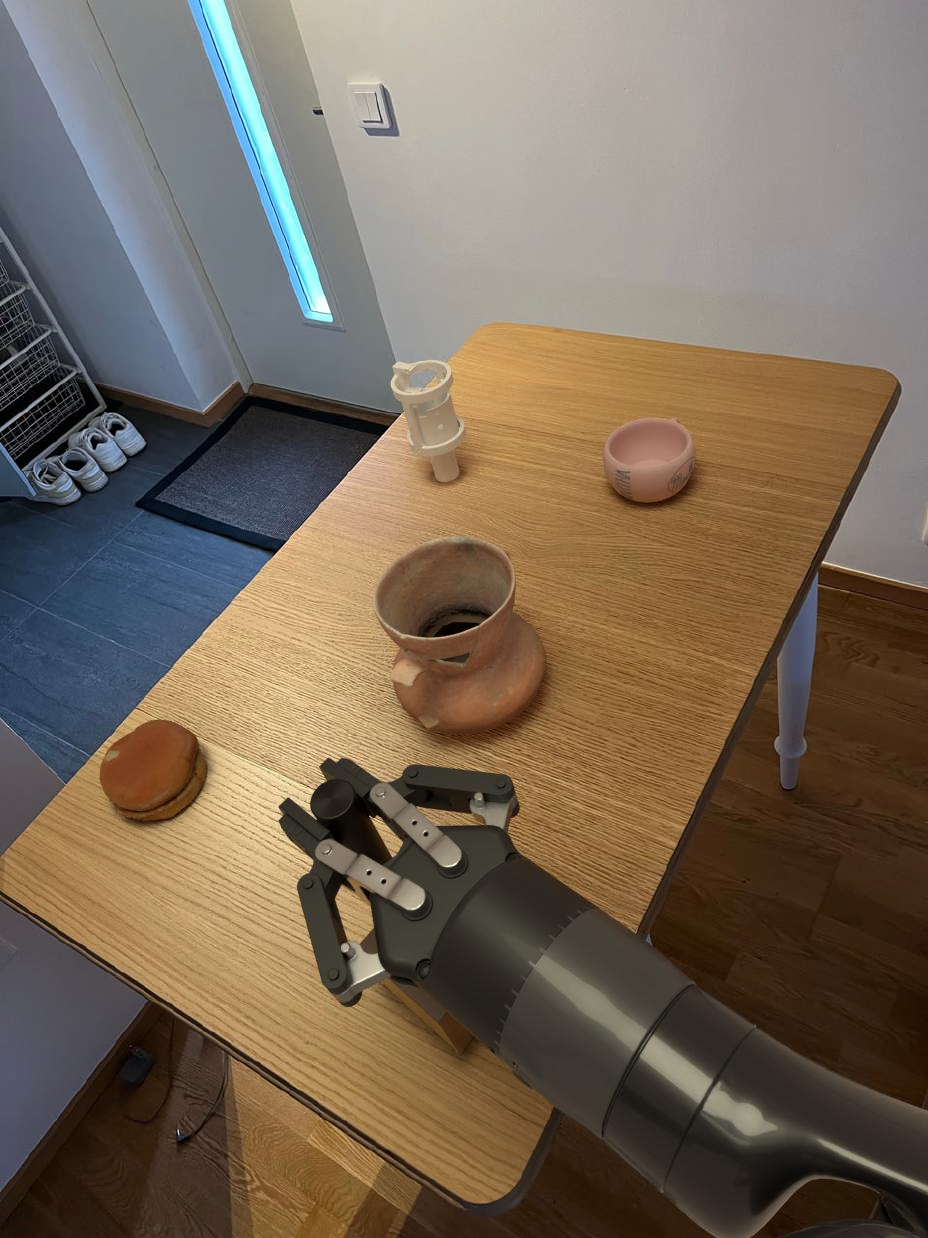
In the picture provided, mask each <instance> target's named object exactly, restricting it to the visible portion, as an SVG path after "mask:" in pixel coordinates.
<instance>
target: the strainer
mask: <svg viewBox="0 0 928 1238" xmlns="http://www.w3.org/2000/svg"><path fill="white" fill-rule="evenodd" d="M391 368H392V371H393V377H392V378H391V380H390V387H391V391H392V394H393V397H394V399H396V400H397V401H399V402H400V403H401V406H402V409H403V414H404V416H405V419H406V423H407V427H408V429H407V432H406V440H407V443H408V447H409V449H410V450H411V452H413V453H414V454H417V455H418V456H423V457H429V460H430V462H431V466H432V469H433V473H434V477H435V479H436V480H437V481H438V482H441V483H449V482H452V481H453V480H456V479H457V478H458V477H459V475H460V469H459V464H458V461H457V458H456V454H455V449H456V448H457V447H459V446H461V444H462V443H463V442H464V440H465V439H466V436H467V429H466V425H465V422H464V419H463V418H462V417H461V416H459V415H458V414H456V411H455V406H454V402H453V399H452V394H451V391H450V389H451V387H452V386H453V384H454V375H453V371H452V367H451V365H449V364H448V363H446V362H445V361H442V360H438V359H437V360H436V359H426V360H420V361H416V362H413V363H410V362H409V363H407V362H404V361H399V360H398V361H397V362H395V364H393V365H392V366H391ZM427 370H429V371H430V372H432V371H434V374H435V378H436V381H437V385H435V386H433V387H427V388H423V387H419V386H415V385H412V384H411V380H410V377H411V376H413V375H417V374H419V373H423V372H426V371H427Z"/></svg>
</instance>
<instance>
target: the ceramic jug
mask: <svg viewBox="0 0 928 1238" xmlns="http://www.w3.org/2000/svg"><path fill="white" fill-rule="evenodd" d="M375 583H376V584H375V587H374V588H373V593H372V607H373V611H374V614H375V617H376V619H377V621H378V623H379V624H380V626H381V628H382V629H383V631H384V632H385V633H386V634H387V636H388V638H390V640H392V641H393V643H394V644H395V645H396V646H398V647H399V648H398V651H397V653H396V656H395V659H394V663H393V669H392V671H391V673H390V676H389V680H390V681H391V682H392V684H393V685H392V686H393V689H394V692H395V696H396V698H397V701H398V702H399V703H400V705H401V707H402V708H403V709H404V711H405V712H406V713H408V715H409V716H411V718H412V719H414V720H415V721H416V722H418V723H420V724H421V725H422V726H423V727H425V729H426V730H427V731H428V732H429V733H437V734H442V735H443V734H444V735H453V736H469V735H475V734H481V733H485V732H488V731H491V730H493V729H497V728H499V727H501V726H503V725H505V724H507V723H508V722H510V721H512V720H513V719H515V718H516V717H518V716H519V715H520V714H521V713H522V712H523V711H525V709H526V708H527V707H528V706H529V705H530V704H531V703H532V701H533V700H534V699H535V697H536V695H537V694H538V692H539V690H540V688H541V686H542V683H543V679H544V676H545V673H546V672H545V671H546V661H547V660H546V651H545V647H544V644H543V641H542V639H541V637H540V635H539V633H538V632H537V631H536V629H535V628H534V627H533V626H532V624H531V623H529V621H527V620H526V619H525V618H524V617H522V616H521V615H519V614H517V613H516V612H514V607H515V600H516V590H517V589H516V588H517V586H516V583H517V582H516V571H515V568H514V565H513V563H512V559H511V556H510V555H509V553H508V552H507V550H505V549H504V548H502V547H501V546H499V545H496V544H493V543H490V542H489V541H488V540H486V539H484V538H480V537H476V536H469V535H454V536H453V535H452V536H442V537H441V536H440V537H438V538H433V539H432V540H427V541H424V542H422V543H419V544H416V546H413V547H411V548H410V549H409V550H407V551H405V552H403V553H401V554H400V555H398V556H397V557H396V558H395V559H394V560H392V562H390V563H389V564H388V565H387V566H386V568H384V570H383V571H382V573H381V575H379V577H378V579H377V581H376V582H375Z"/></svg>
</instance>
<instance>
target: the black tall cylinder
mask: <svg viewBox="0 0 928 1238" xmlns="http://www.w3.org/2000/svg"><path fill="white" fill-rule="evenodd" d="M309 807H310V808H309V809H310V811H311V813H312V816H313V817H314V818H315V819H316V820H317V821H318V822H319V823H320V824H321V825H322V826H324V827H326V828H327V829H328V830H330V831H331V833H332V835H333V836H334V838H335V839H336V841H337V842H338V843H340V844H342V845H343V846H345V847H347V848H348V849H350V850H352V851H353V852H355V853H357V854H363V855H365V856H367V857H369V858H370V859H372V860H374V861H375V862H377V863H379V864H380V865H383V864H384V863H386V862H387V861H389V860H390V859H391V858H393V857H394V856H392V854H391V852H390V850H389V848H388V847H387V845H386V843H385V842H384V840H383V838H382V836H381V834H380V832H379V831H378V828H377V827H376V825H375V823H374V821H373V820H372V817H371V816H369V814H368V813H367V811H366V809H365V807H364V805H363V804H362V802H361V800H360V798H359V797H358V795H357V793H356V791H355V789H354V788H353V786H352V785H351V784H350V783H349V782H348V781H346V780H343V779H331V780H328V781H327V780H325V781H323V782H322V783H320V785H318V786H317V787H316V788H315V790H314V791H313V792H312V795H311V796H310V800H309Z"/></svg>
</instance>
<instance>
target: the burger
mask: <svg viewBox="0 0 928 1238" xmlns="http://www.w3.org/2000/svg"><path fill="white" fill-rule="evenodd" d="M207 767H208V766H207V762H206V759H205V757H204V755H203V753H202V750H201V748H200V742H199V739H198V737H197V735H196V734H194V733H193V732H192V731H190V730H189V729H188V728H187V727H185V726H183V725H181V724H180V723H177V722H176V721H172V720H167V719H151V720H148V721H146V722H143V723H142V724H139V725H138V726H136V727H135V728H134V730H132V731H131V732H129V733H127V734H125V735H124V736H122V737H121V738H119V739H117V740H116V741H115V742H114V743H112V744H111V745H110V746H109V748H108V749H107V751H106V753H105V754H104V756H103V758H102V761H101V764H100V766H99V782H100V786H101V788H102V790H103V793H104V795H105V796H106V797H107V799H108V800H109V801H110V802H111V803H112V804H113V806H114V807H113V808H114V810H116V812H117V814H118V815H121V816H124V817H126V818H128V819H133V820H141V821H145V822H147V821H158V820H166V819H170V818H172V817H174V816H176V814H178V813H180V812H181V811H182V810H183V809H184V808H185V807H187V806H188V805H189V804H190V803H191V802H193V800H195V797H196V796H197V795H198V793H199V791H200V790H201V787H202V785H203V784H204V781H205V778H206V774H207Z"/></svg>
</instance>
